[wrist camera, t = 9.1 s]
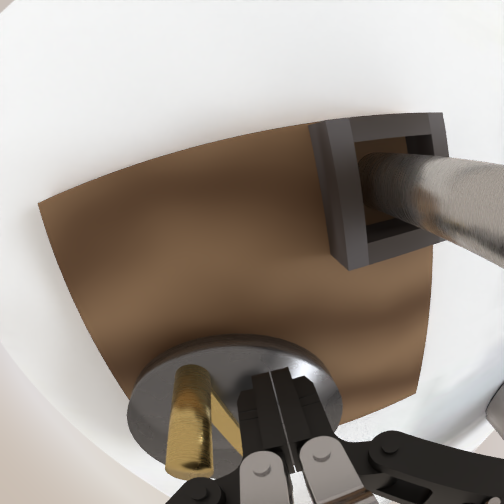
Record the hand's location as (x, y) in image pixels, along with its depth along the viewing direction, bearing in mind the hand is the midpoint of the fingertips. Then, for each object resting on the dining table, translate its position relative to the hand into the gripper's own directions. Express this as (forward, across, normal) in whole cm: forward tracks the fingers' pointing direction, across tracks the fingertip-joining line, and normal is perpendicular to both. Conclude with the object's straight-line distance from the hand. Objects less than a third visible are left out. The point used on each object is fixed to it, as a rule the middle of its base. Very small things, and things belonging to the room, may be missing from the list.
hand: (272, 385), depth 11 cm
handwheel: (+3, +3, +5) cm, 6 cm away
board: (+6, -1, +1) cm, 6 cm away
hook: (+4, -7, -6) cm, 11 cm away
